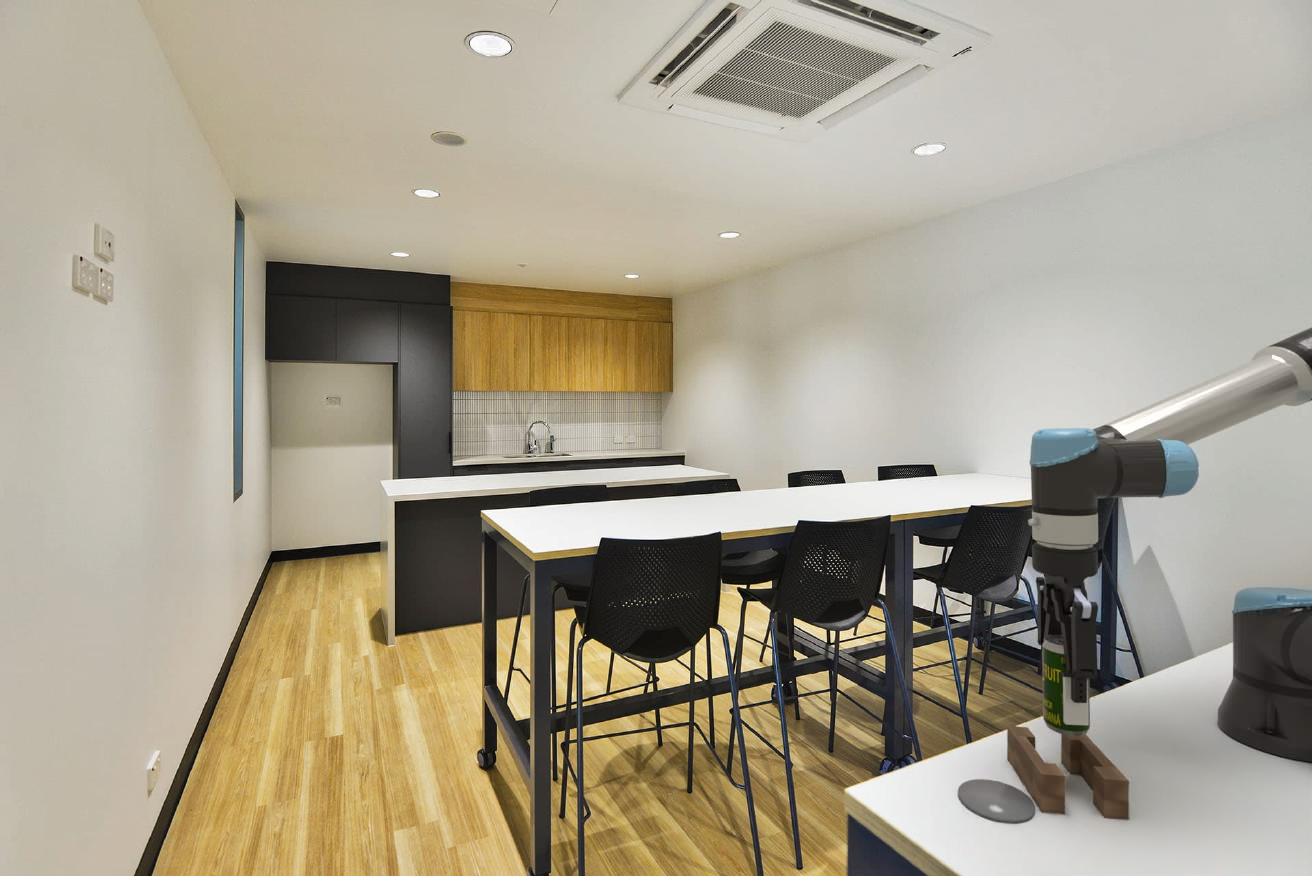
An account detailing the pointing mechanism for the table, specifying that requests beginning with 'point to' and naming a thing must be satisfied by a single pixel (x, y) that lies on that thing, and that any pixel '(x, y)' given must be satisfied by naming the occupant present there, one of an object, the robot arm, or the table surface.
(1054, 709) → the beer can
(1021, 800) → the coaster
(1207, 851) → the table surface
